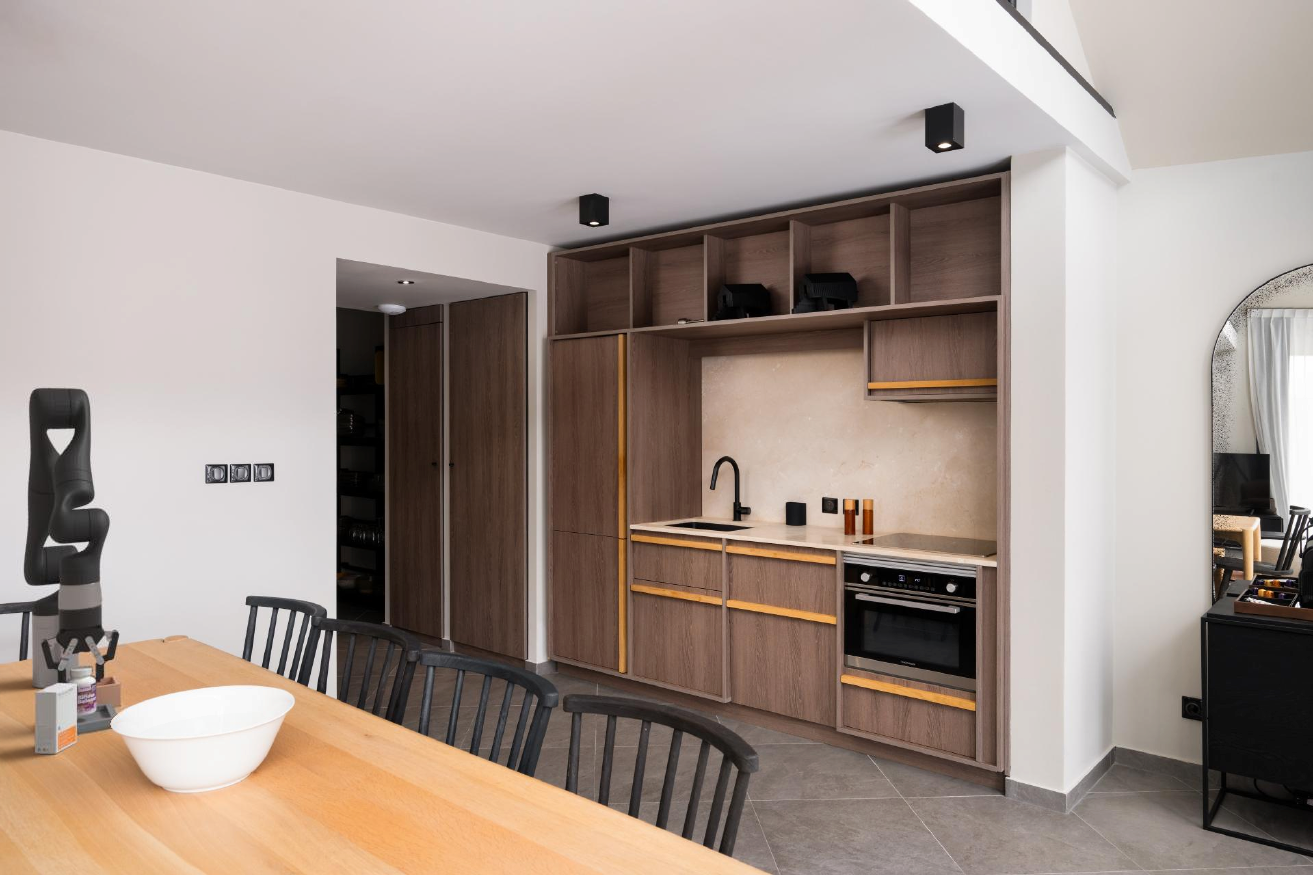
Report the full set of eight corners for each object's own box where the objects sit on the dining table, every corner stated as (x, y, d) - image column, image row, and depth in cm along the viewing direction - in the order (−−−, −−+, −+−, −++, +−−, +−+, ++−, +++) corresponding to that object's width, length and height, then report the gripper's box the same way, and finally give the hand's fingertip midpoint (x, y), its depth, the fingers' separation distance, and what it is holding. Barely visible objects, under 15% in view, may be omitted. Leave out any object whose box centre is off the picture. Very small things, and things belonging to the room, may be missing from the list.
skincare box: (56, 754, 164) (55, 692, 164) (34, 754, 164) (33, 692, 164) (78, 742, 170) (78, 682, 170) (57, 742, 170) (56, 682, 170)
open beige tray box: (73, 703, 193) (73, 681, 193) (115, 696, 198) (115, 675, 198) (77, 713, 187) (76, 690, 186) (120, 705, 192) (120, 683, 191)
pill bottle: (81, 718, 176) (80, 672, 176) (59, 716, 177) (59, 670, 177) (102, 710, 182) (102, 665, 181) (81, 708, 183) (81, 663, 183)
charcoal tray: (44, 723, 180) (44, 713, 180) (111, 711, 188) (111, 702, 188) (48, 740, 171) (48, 730, 171) (118, 726, 179) (118, 717, 179)
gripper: (118, 596, 186) (118, 673, 187) (36, 605, 177) (37, 686, 178) (122, 602, 181) (123, 682, 181) (39, 611, 172) (40, 695, 172)
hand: (81, 683), depth 179 cm, fingers closed on pill bottle, 5 cm apart
